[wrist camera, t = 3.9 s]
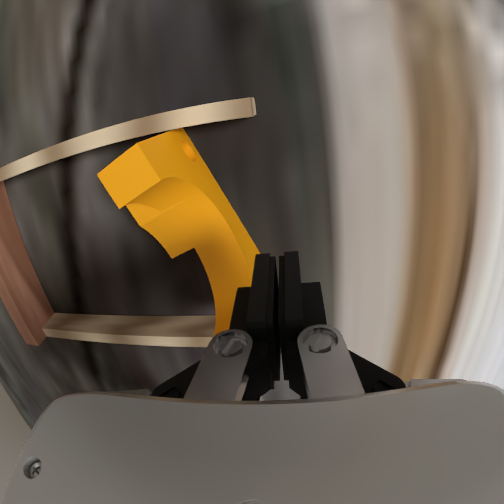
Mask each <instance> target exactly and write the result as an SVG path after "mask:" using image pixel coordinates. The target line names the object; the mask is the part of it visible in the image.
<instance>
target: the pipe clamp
mask: <svg viewBox="0 0 504 504" xmlns="http://www.w3.org/2000/svg"><path fill="white" fill-rule="evenodd" d="M97 176H98V177H99V179H100V180H101V182H102V183H103V185H104V187H105V188H106V190H107V191H108V193H109V194H110V196H111V197H112V199H113V200H114V202H115V203H116V205H117V206H118V208H119V209H120V208H122V207H123V206H125V205H126V206H127V208H128V209H129V211H130V212H131V214H132V215H133V217H134V218H135V220H136V221H137V223H138V224H139V226H141V227H142V228H144V229H145V230H147V231H148V232H149V233H150V234H151V235H153V236H154V237H155V238H156V239H157V240H158V241H159V243H160V244H161V245H162V246H163V247H164V248H165V250H166V251H167V253H168V254H169V255H170V257H171V258H172V259H173V258H174V257H176V256H178V255H180V254H182V253H184V252H186V251H188V250H190V249H192V248H195V250H196V252H197V253H198V255H199V257H200V259H201V261H202V263H203V265H204V268H205V270H206V273H207V275H208V278H209V281H210V284H211V288H212V292H213V296H214V302H215V310H216V325H215V332H214V336H215V335H216V334H218V333H220V332H222V331H225V330H229V326H230V321H231V316H232V311H233V306H234V302H235V297H236V292H237V288H238V287H251V283H252V276H253V269H254V262H255V255H256V254H260V252H259V251H258V249H257V247H256V246H255V244H254V242H253V241H252V239H251V237H250V236H249V234H248V233H247V231H246V229H245V228H244V226H243V224H242V223H241V221H240V219H239V218H238V216H237V215H236V213H235V211H234V210H233V208H232V206H231V205H230V203H229V202H228V200H227V198H226V197H225V195H224V193H223V192H222V190H221V189H220V187H219V185H218V184H217V182H216V180H215V179H214V177H213V176H212V174H211V172H210V171H209V169H208V168H207V166H206V164H205V163H204V161H203V159H202V158H201V156H200V155H199V153H198V151H197V150H196V148H195V146H194V145H193V143H192V142H191V140H190V138H189V137H188V135H187V134H186V132H185V130H184V129H183V127H182V128H177V129H174V130H171V131H168V132H166V133H163V134H160V135H157V136H154V137H152V138H149V139H146V140H143V141H141V142H138V143H136V144H135V145H134V146H132V147H131V148H130V149H128V150H127V151H126V152H125V153H123V154H122V155H121V156H119V157H118V158H117V159H116V160H114V161H113V162H112V163H111V164H109V165H108V166H107V167H106V168H104V169H103V170H102V171H101V172H100V173H98V174H97Z"/></svg>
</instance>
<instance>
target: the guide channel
mask: <svg viewBox="0 0 504 504" xmlns="http://www.w3.org/2000/svg"><path fill="white" fill-rule="evenodd" d="M254 115H256V108H255V100H254V98H242V99H235V100H228V101H222V102H215V103H209V104H204V105H198V106H193V107H188V108H183V109H178V110H173V111H169V112H164V113H160V114H156V115H151V116H147V117H143V118H139V119H135V120H132V121H128V122H124V123H121V124H117V125H114V126H110V127H107V128H104V129H100V130H97V131H94V132H91V133H88V134H85V135H82V136H79V137H76V138H73V139H70V140H67V141H65V142H62V143H59V144H56V145H54V146H51V147H49V148H46V149H43V150H41V151H38V152H36V153H33V154H31V155H29V156H26V157H24V158H22V159H19V160H17V161H15V162H13V163H10V164H8V165H6V166H4V167H2V168H0V297H1V299H2V301H3V303H4V305H5V307H6V309H7V311H8V312H9V314H10V316H11V318H12V320H13V321H14V323H15V325H16V327H17V328H18V330H19V332H20V334H21V335H22V337H23V339H24V340H25V342H26V343H27V344H29V345H35V346H39V345H40V344H41V343H42V341H43V340H44V339H45V338H46V336H49V337H56V338H65V339H73V340H83V341H93V342H104V343H117V344H132V345H150V346H176V347H207V346H208V344H209V342H210V341H211V339H212V338H213V337H214V332H215V325H216V315H203V316H125V315H90V314H68V313H54V311H53V309H52V307H51V305H50V303H49V301H48V299H47V297H46V294H45V292H44V290H43V288H42V286H41V284H40V281H39V279H38V277H37V275H36V272H35V270H34V268H33V265H32V263H31V261H30V258H29V256H28V253H27V251H26V248H25V245H24V243H23V240H22V238H21V235H20V232H19V229H18V226H17V223H16V221H15V218H14V214H13V211H12V208H11V205H10V202H9V198H8V195H7V192H6V188H5V184H4V181H3V180H6V179H8V178H10V177H13V176H15V175H18V174H20V173H23V172H26V171H28V170H31V169H34V168H36V167H39V166H42V165H45V164H47V163H50V162H53V161H56V160H59V159H62V158H65V157H68V156H71V155H74V154H78V153H81V152H84V151H87V150H91V149H94V148H98V147H101V146H105V145H109V144H112V143H116V142H120V141H124V140H128V139H132V138H136V137H140V136H144V135H149V134H153V133H158V132H162V131H167V130H172V129H177V128H182V127H188V126H193V125H199V124H205V123H211V122H217V121H224V120H231V119H238V118H246V117H253V116H254Z"/></svg>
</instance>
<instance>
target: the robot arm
mask: <svg viewBox="0 0 504 504" xmlns="http://www.w3.org/2000/svg"><path fill="white" fill-rule="evenodd" d="M281 353H282V363H283V373H284V380H289V387H290V389H292V390H293V391H295V392H296V393H297V394H299V395H300V399H298V400H273V401H263V395H264V394H265V393H266V392H268V391H269V390H270V389H274V381H280V354H281ZM2 504H504V390H503V389H501V388H500V387H498V386H495V385H492V384H489V383H484V382H476V381H466V380H462V379H410V382H403V381H402V380H401V379H400V378H398V377H397V376H395V375H393V374H392V373H390V372H388V371H386V370H384V369H382V368H380V367H379V366H377V365H375V364H373V363H371V362H369V361H368V360H366V359H364V358H362V357H360V356H359V355H357V354H355V353H353V352H351V351H350V350H348V349H347V346H346V344H345V341H344V339H343V336H342V335H341V333H340V332H339V331H338V330H337V329H336V328H334V327H332V326H329V325H327V323H326V316H325V310H324V303H323V297H322V291H321V285H320V282H312V283H301V279H300V267H299V256H298V251H293V252H284V256H279V287H278V277H277V268H276V259H275V256H274V257H270V253H266V254H256V255H255V262H254V269H253V276H252V283H251V287H238V288H237V292H236V297H235V302H234V306H233V311H232V316H231V321H230V326H229V330H225V331H222V332H220V333H218V334H216V335H215V336H214V337H213V338H212V339H211V341H210V342H209V344H208V346H207V348H206V351H205V353H204V355H203V357H202V359H201V360H200V361H198V362H197V363H195V364H194V365H192V366H190V367H189V368H187V369H185V370H184V371H182V372H181V373H179V374H177V375H176V376H174V377H172V378H171V379H169V380H167V381H166V382H164V383H162V384H161V385H159V386H158V387H156V388H155V389H154V390H153V391H149V390H148V389H140V390H129V391H117V392H96V391H91V392H78V393H73V394H68V395H65V396H62V397H59V398H57V399H55V400H54V401H52V402H51V403H50V404H49V405H48V406H47V407H46V408H45V410H44V411H43V412H42V414H41V415H40V417H39V419H38V420H37V422H36V423H35V425H34V427H33V429H32V431H31V433H30V435H29V436H28V438H27V441H26V443H25V445H24V447H23V449H22V451H21V453H20V456H19V458H18V461H17V463H16V465H15V468H14V470H13V473H12V475H11V478H10V481H9V483H8V486H7V489H6V491H5V494H4V497H3V501H2Z"/></svg>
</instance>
